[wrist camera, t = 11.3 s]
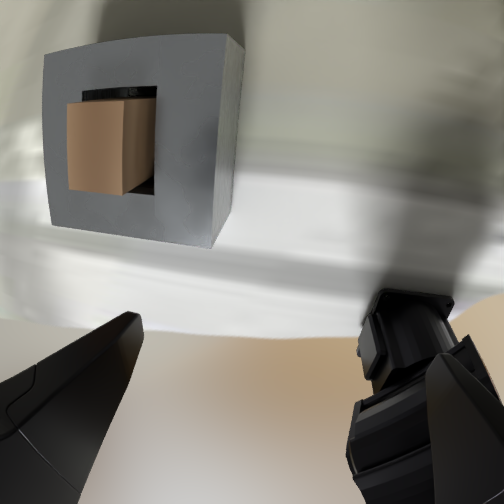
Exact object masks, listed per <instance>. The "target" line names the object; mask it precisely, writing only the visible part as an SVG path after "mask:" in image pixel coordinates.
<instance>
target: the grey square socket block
mask: <svg viewBox="0 0 504 504" xmlns="http://www.w3.org/2000/svg"><path fill="white" fill-rule="evenodd" d="M244 56H245V50H244V49H243V48H242V47H241V46H240V45H239V44H238V43H237V42H236V41H235V40H234V39H233V38H232V37H230V36H229V35H228V34H223V33H198V34H171V35H157V36H146V37H136V38H128V39H120V40H113V41H107V42H101V43H95V44H90V45H84V46H80V47H75V48H70V49H66V50H62V51H57V52H53V53H50V54H46V55H44V69H43V91H42V127H43V150H44V164H45V176H46V185H47V194H48V202H49V209H50V216H51V222H52V225H54V226H61V227H67V228H74V229H81V230H87V231H94V232H101V233H107V234H114V235H121V236H128V237H134V238H141V239H148V240H154V241H161V242H168V243H175V244H181V245H188V246H195V247H202V248H209V249H211V248H212V246H213V244H214V243H215V241H216V239H217V237H218V235H219V233H220V231H221V229H222V227H223V225H224V224H225V222H226V220H227V218H228V216H229V214H230V211H231V198H232V186H233V173H234V161H235V150H236V138H237V127H238V116H239V106H240V95H241V85H242V75H243V66H244ZM142 87H157V100H156V120H155V159H154V175H153V176H152V177H150V178H149V179H147V180H146V181H144V182H142V183H141V184H139V185H138V186H136V187H135V188H133V189H132V190H130V191H129V192H127V193H126V194H124V195H123V196H121V195H112V194H104V193H96V192H87V191H78V190H69V181H68V162H67V104H68V103H75V102H82V101H90V100H99V99H108V98H118V97H128V93H129V88H142Z"/></svg>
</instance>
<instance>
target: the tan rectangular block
mask: <svg viewBox="0 0 504 504" xmlns="http://www.w3.org/2000/svg"><path fill="white" fill-rule="evenodd" d="M156 100H157V96H131V97H118V98H108V99H99V100H90V101H82V102H75V103H68V104H67V162H68V181H69V190H78V191H87V192H96V193H104V194H112V195H121V196H123V195H124V194H126V193H127V192H129V191H130V190H132V189H133V188H135V187H136V186H138V185H139V184H141V183H142V182H144V181H146V180H147V179H149V178H150V177H152V176H153V175H154V159H155V120H156Z"/></svg>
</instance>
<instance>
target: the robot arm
mask: <svg viewBox="0 0 504 504" xmlns="http://www.w3.org/2000/svg"><path fill="white" fill-rule="evenodd" d="M384 295H388V296H387V297H383V296H384ZM447 303H449V304H447ZM453 306H454V300H453V299H452V297H450V296H442V295H434V294H426V293H418V292H410V291H402V290H394V289H383V290H381V291H380V292H379V294H378V297H377V300H376V302H375V305H374V308H373V310H372V313H371V314H369V315H368V316H367V318H366V321H365V324H364V326H363V329H362V331H361V334H360V336H359V339H358V343H359V345H358V348H357V355H358V357H361V359H362V365H363V371H364V377H365V379H366V380H371V382H372V388H373V394H374V395H372V396H370V397H368V398H366V399H364V400H363V399H362V400H360V401H358V402H356V403H355V405H354V411H353V416H352V421H351V427H350V431H349V436H348V441H347V447H346V458H347V461H348V465H349V468H350V470H351V472H352V474H353V480H354V482H355V483H356V485H357V486H358V488H359V489H360V491H361V493H362V495H363V497H364V499H365V502H366V504H504V406H503V404H502V402H501V399H500V396H499V394H498V392H497V389H496V387H495V385H494V383H493V380H492V378H491V376H490V374H489V372H488V370H487V368H486V366H485V364H484V362H483V360H482V358H481V356H480V354H479V352H478V350H477V348H476V346H475V345H474V343H473V341H472V339H471V337H470V336H469V334H468V335H467V336H466V337H464V338H463V339H462V341H461V342H458V340H457V338H456V336H455V334H454V332H453V330H452V328H451V326H450V324H449V322H448V320H447V318H448V316H449V314H450V312H451V310H452V308H453ZM143 340H144V332H143V325H142V319H141V316H140V314H138V313H134V312H130V311H127V312H125V313H123V314H121V315H119V316H118V317H116V318H114V319H112V320H111V321H109V322H107V323H105V324H104V325H102V326H100V327H98V328H97V329H95V330H93V331H91V332H90V333H88V334H86V335H85V336H83V337H81V338H79V339H78V340H76V341H74V342H72V343H71V344H69V345H67V346H65V347H64V348H62V349H60V350H59V351H57V352H55V353H53V354H52V355H50V356H48V357H46V358H45V359H43V360H41V361H40V362H38V363H37V365H33V366H31V367H29V368H28V369H26V370H24V371H22V372H20V373H19V374H17V375H15V376H13V377H11V378H9V379H7V380H5V381H3V382H1V383H0V504H78V501H79V498H80V496H81V494H80V493H82V490H83V488H84V485H85V483H86V480H87V478H88V475H89V473H90V471H91V468H92V466H93V463H94V461H95V459H96V456H97V454H98V451H99V449H100V447H101V445H102V442H103V440H104V437H105V435H106V433H107V431H108V429H109V426H110V424H111V422H112V419H113V417H114V415H115V413H116V411H117V408H118V406H119V404H120V402H121V400H122V397H123V395H124V393H125V391H126V389H127V386H128V384H129V381H130V378H131V376H132V373H133V369H134V367H135V364H136V360H137V358H138V355H139V352H140V349H141V346H142V343H143Z"/></svg>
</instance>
